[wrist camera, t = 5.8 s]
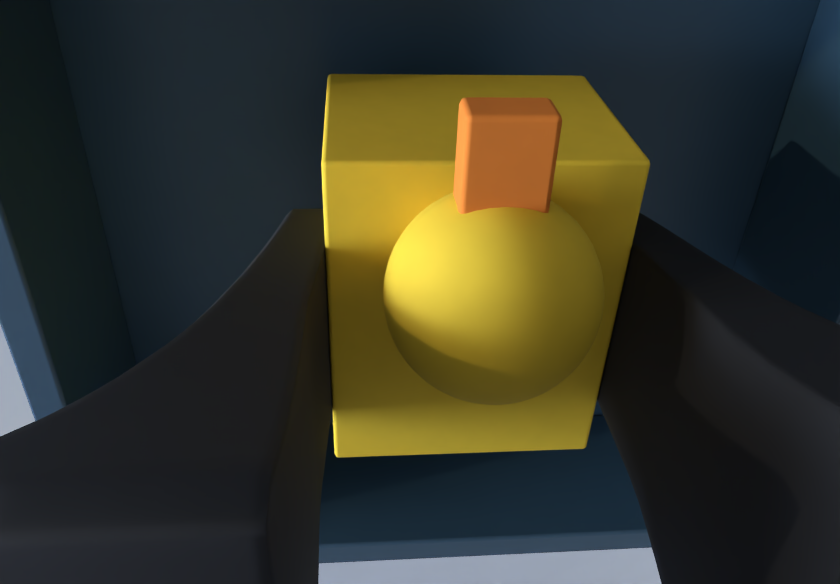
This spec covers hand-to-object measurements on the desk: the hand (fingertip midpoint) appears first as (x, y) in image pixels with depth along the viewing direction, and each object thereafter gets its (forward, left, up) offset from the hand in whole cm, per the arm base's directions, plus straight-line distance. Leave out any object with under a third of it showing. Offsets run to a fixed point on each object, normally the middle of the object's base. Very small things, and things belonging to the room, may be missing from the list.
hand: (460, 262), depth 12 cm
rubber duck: (0, 0, -1) cm, 1 cm away
